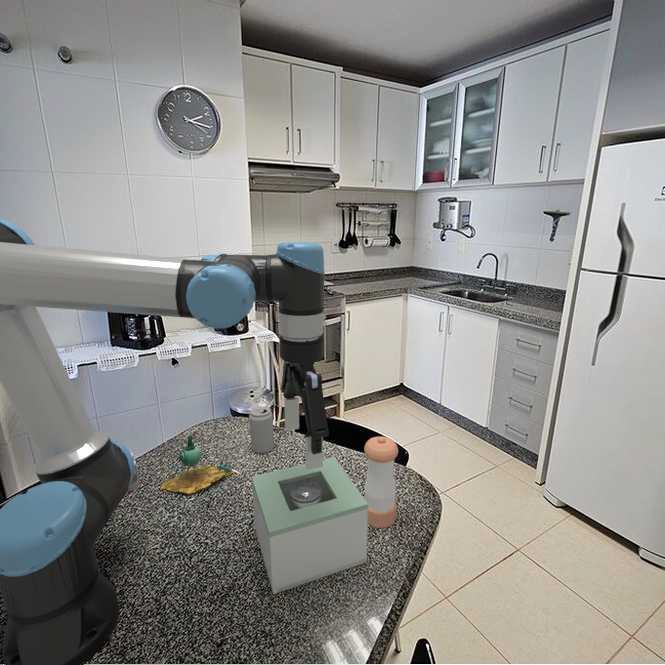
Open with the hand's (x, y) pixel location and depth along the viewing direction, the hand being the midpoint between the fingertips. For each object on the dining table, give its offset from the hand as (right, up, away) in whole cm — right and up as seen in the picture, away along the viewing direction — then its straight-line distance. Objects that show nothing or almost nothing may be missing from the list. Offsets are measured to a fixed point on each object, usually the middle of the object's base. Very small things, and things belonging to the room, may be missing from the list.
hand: (302, 446), depth 73 cm
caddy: (+1, -21, +6) cm, 22 cm away
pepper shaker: (+16, -19, +14) cm, 29 cm away
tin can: (+1, -21, +6) cm, 21 cm away
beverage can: (-14, -12, +40) cm, 44 cm away
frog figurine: (-28, -17, +26) cm, 41 cm away
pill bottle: (-44, -17, +24) cm, 53 cm away
